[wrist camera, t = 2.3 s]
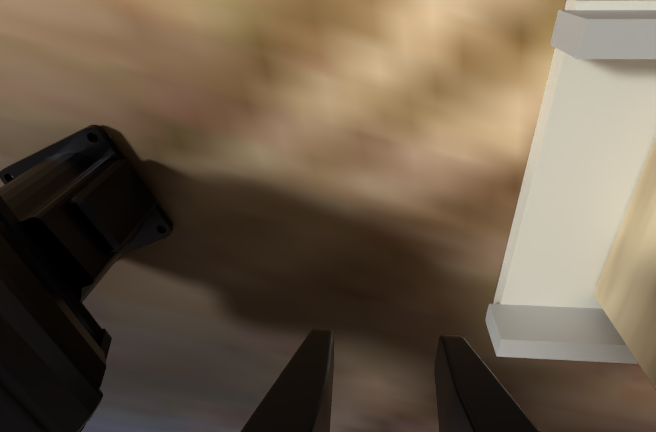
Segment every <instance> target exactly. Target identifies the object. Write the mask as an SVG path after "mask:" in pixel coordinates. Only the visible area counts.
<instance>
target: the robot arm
mask: <svg viewBox="0 0 656 432" xmlns="http://www.w3.org/2000/svg"><path fill="white" fill-rule="evenodd" d="M92 133H94V134H95V135H97V137H98V140H97V139H95V138H94V137H93V136H92ZM10 174H11V175H12V176H13V177H14V178H13V177H11V175H10ZM0 179H1V180H2V182H3V183H4V184H5V185H4V186H2V187H1V188H0V432H81V431H82V430H83V428H84V426H85V425H86V423H87V422H88V421H89V419H90V418H91V417H92V415H93V414H94V412H95V410H96V409H97V407H98V406H99V404H100V402H101V400H102V397H103V393H102V391H101V390H100V389H99V388H100V386H101V383H102V380H103V376H104V373H105V369H106V358H107V355H108V351H109V347H110V343H111V339H112V338H111V336H110V335H109V334H108V332H107V331H106V330H105V329H101V327H100V326H99V325H98V323H97V322H96V321H95V319H94V318H93V317H92V315H91V314H90V313H89V311H88V310H87V309H86V307H85V306H84V305H83V304H82V302H83V301H84V300H85V298H86V297H87V296H88V295H89V294H90V292H91V291H92V290H93V289H94V287H95V286H96V285H97V284H98V282H99V281H100V280H101V279H102V277H103V276H104V275H105V274H106V273H107V271H108V270H109V269H110V268H111V266H112V265H113V264H114V263H115V261H116V260H117V259H118V258H119V257H120V255H121V254H123V253H126V252H129V251H131V250H134V249H136V248H139V247H142V246H144V245H147V244H150V243H152V242H155V241H157V240H160V239H163V238H165V237H167V236H169V235H170V233H171V232H172V230H173V224H172V222H171V221H170V219H169V218H168V217H167V215H166V214H165V212H164V211H163V210H162V208H161V207H160V206H159V204H158V203H157V201H156V199H155V198H154V196H153V195H152V194H151V192H150V191H149V190H148V188H147V187H146V185H145V184H144V183H143V181H142V180H141V179H140V177H139V176H138V174H137V173H136V172H135V170H134V169H133V168H132V166H131V165H130V163H129V162H128V161H127V160H126V159H125V157H124V156H123V155H122V153H121V152H120V151H119V149H118V148H117V146H116V145H115V144H114V142H113V141H112V140H111V138H110V137H109V135H108V134H107V133H106V131H105V130H104V129H103V128H102V127H100V126H98V125H90V126H88V127H86V128H84V129H82V130H80V131H78V132H76V133H74V134H72V135H70V136H68V137H66V138H64V139H62V140H60V141H58V142H56V143H54V144H52V145H50V146H48V147H46V148H44V149H42V150H40V151H38V152H36V153H34V154H32V155H30V156H28V157H26V158H24V159H22V160H20V161H18V162H16V163H14V164H12V165H10V166H8V167H6V168H4V169H3V170H2V171H0ZM160 225H161V226H164V227H165V229H162V228H161V227H160ZM333 369H334V332H333V330H332V329H325V328H314V329H312V330H311V331H310V333H309V334H308V336H307V337H306V338H305V340H304V341H303V343H302V344H301V346H300V347H299V349H298V350H297V351H296V353H295V354H294V356H293V357H292V359H291V360H290V361H289V363H288V364H287V366H286V367H285V369H284V370H283V371H282V373H281V374H280V376H279V377H278V379H277V380H276V382H275V383H274V384H273V386H272V387H271V389H270V390H269V392H268V393H267V394H266V396H265V397H264V399H263V400H262V402H261V403H260V405H259V406H258V407H257V409H256V410H255V412H254V413H253V415H252V416H251V417H250V419H249V420H248V422H247V423H246V425H245V426H244V427H243V429H242V430H241V432H330V417H331V401H332V385H333ZM435 383H436V395H437V407H438V420H439V432H540V431H539V430H538V428H537V427H536V426H535V425H534V423H533V422H532V421H531V420H530V419H529V417H528V416H527V415H526V414H525V412H524V411H523V410H522V409H521V407H520V406H519V405H518V404H517V402H516V401H515V400H514V399H513V398H512V396H511V395H510V394H509V393H508V391H507V390H506V389H505V388H504V386H503V385H502V384H501V383H500V381H499V380H498V379H497V378H496V377H495V375H494V374H493V373H492V372H491V370H490V369H489V368H488V367H487V365H486V364H485V363H484V362H483V361H482V359H481V358H480V357H479V356H478V354H477V353H476V352H475V351H474V349H473V348H472V347H471V346H470V344H469V343H468V342H467V341H466V340H465V338H464V337H462V336H460V335H445V334H444V335H441V336H440V338H439V343H438V348H437V354H436V360H435Z"/></svg>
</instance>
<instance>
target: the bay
mask: <svg viewBox="0 0 656 432" xmlns="http://www.w3.org/2000/svg"><path fill="white" fill-rule="evenodd" d="M550 45H551V46H553V47H555V50H554V55H553V59H552V63H551V67H550V71H549V75H548V79H547V83H546V88H545V92H544V96H543V100H542V104H541V108H540V112H539V116H538V120H537V125H536V129H535V133H534V137H533V141H532V145H531V149H530V153H529V158H528V162H527V166H526V170H525V174H524V178H523V182H522V186H521V191H520V195H519V199H518V203H517V207H516V211H515V215H514V219H513V223H512V228H511V232H510V236H509V240H508V244H507V248H506V252H505V256H504V261H503V265H502V269H501V273H500V277H499V281H498V285H497V289H496V293H495V298H494V302H493V304H489V306H488V310H487V314H486V319H485V321H486V325H487V328H488V331H489V334H490V337H491V340H492V344H493V347H494V350H495V353H496V356H498V357H517V358H537V359H556V360H575V361H594V362H613V363H633V364H639V363H638V362H637V360H636V359H635V357H634V356H633V354H632V353H631V351H630V350H629V348H628V347H627V345H626V344H625V342H624V340H623V339H622V337H621V336H620V334H619V333H618V331H617V330H616V328H615V327H614V325H613V324H612V322H611V321H610V319H609V318H608V316H607V315H606V313H605V311H604V310H603V308H602V307H601V305H600V304H599V302H598V301H597V299H596V298H595V296H594V292H595V289H596V287H597V284H598V282H599V279H600V277H601V274H602V272H603V269H604V267H605V264H606V262H607V259H608V257H609V254H610V251H611V249H612V246H613V244H614V241H615V239H616V236H617V234H618V231H619V229H620V226H621V224H622V221H623V218H624V216H625V213H626V211H627V208H628V206H629V203H630V201H631V198H632V196H633V193H634V191H635V188H636V186H637V183H638V180H639V178H640V175H641V173H642V170H643V168H644V165H645V163H646V160H647V158H648V155H649V153H650V150H651V147H652V145H653V142H654V140H655V137H656V0H567V1H566V5H565V9H564V10H558V14H557V19H556V23H555V27H554V31H553V35H552V40H551V44H550Z"/></svg>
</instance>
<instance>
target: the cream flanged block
mask: <svg viewBox="0 0 656 432" xmlns="http://www.w3.org/2000/svg"><path fill="white" fill-rule="evenodd" d="M594 296H595V298H596V299H597V301H598V302H599V304H600V305H601V307H602V308H603V310H604V311H605V313H606V315H607V316H608V318H609V319H610V321H611V322H612V324H613V325H614V327H615V328H616V330H617V331H618V333H619V334H620V336H621V337H622V339H623V340H624V342H625V344H626V345H627V347H628V348H629V350H630V351H631V353H632V354H633V356H634V357H635V359H636V360H637V362H638V363H639V365H640V366H641V368H642V370H643V371H644V373H645V374H646V376H647V377H648V379H649V380H650V382H651V383H652V385H653V386H654V388H655V389H656V137H655V140H654V142H653V145H652V147H651V150H650V153H649V155H648V158H647V160H646V163H645V165H644V168H643V170H642V173H641V175H640V178H639V180H638V183H637V186H636V188H635V191H634V193H633V196H632V198H631V201H630V203H629V206H628V208H627V211H626V213H625V216H624V218H623V221H622V224H621V226H620V229H619V231H618V234H617V236H616V239H615V241H614V244H613V246H612V249H611V251H610V254H609V257H608V259H607V262H606V264H605V267H604V269H603V272H602V274H601V277H600V279H599V282H598V284H597V287H596V289H595V292H594Z"/></svg>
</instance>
